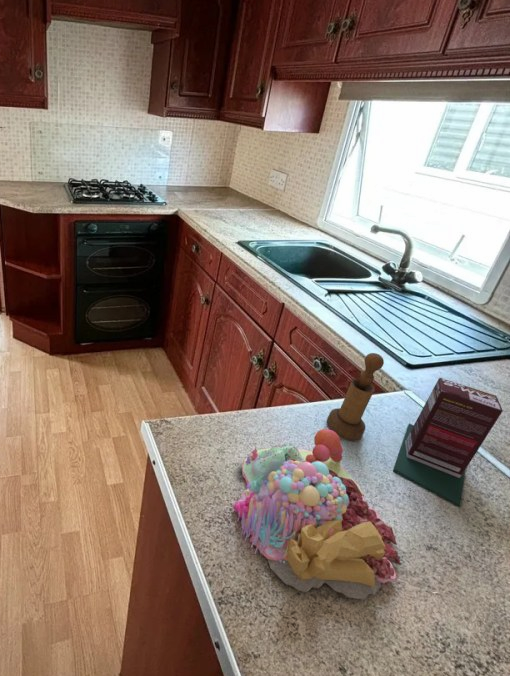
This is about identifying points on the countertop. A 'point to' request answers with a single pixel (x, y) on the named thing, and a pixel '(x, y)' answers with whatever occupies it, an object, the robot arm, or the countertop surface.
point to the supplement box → (452, 427)
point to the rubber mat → (429, 476)
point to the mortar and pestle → (355, 402)
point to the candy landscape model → (315, 520)
